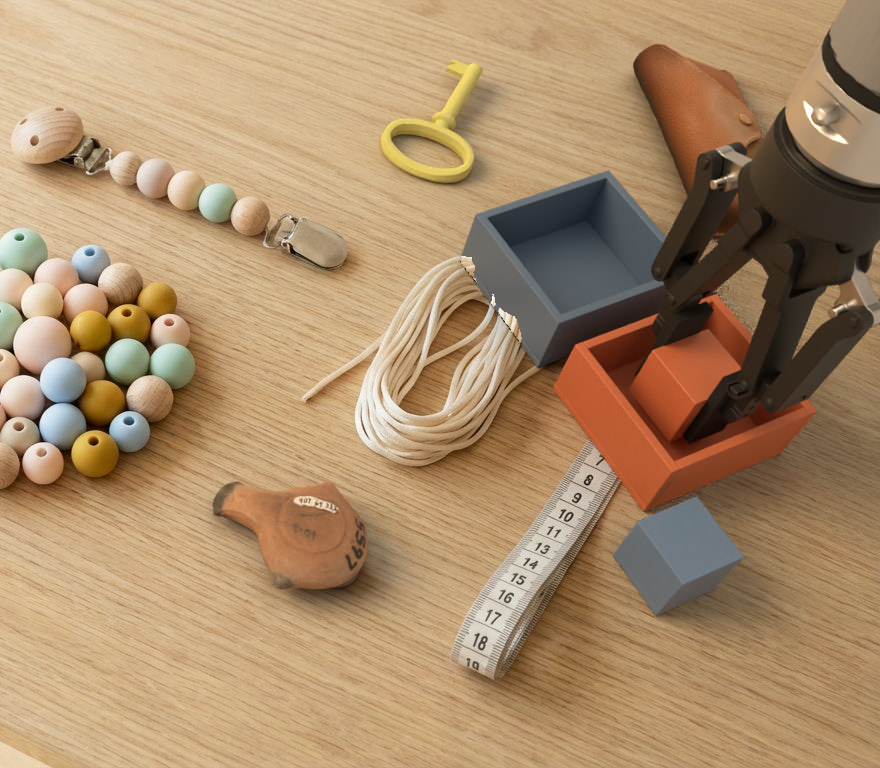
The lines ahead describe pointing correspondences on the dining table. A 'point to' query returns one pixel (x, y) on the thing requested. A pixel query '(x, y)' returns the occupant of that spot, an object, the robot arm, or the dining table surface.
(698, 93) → the sunglasses case
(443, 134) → the key
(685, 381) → the terracotta block
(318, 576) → the oil lamp
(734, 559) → the slate block
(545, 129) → the dining table surface
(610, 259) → the slate bin
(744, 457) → the terracotta bin
